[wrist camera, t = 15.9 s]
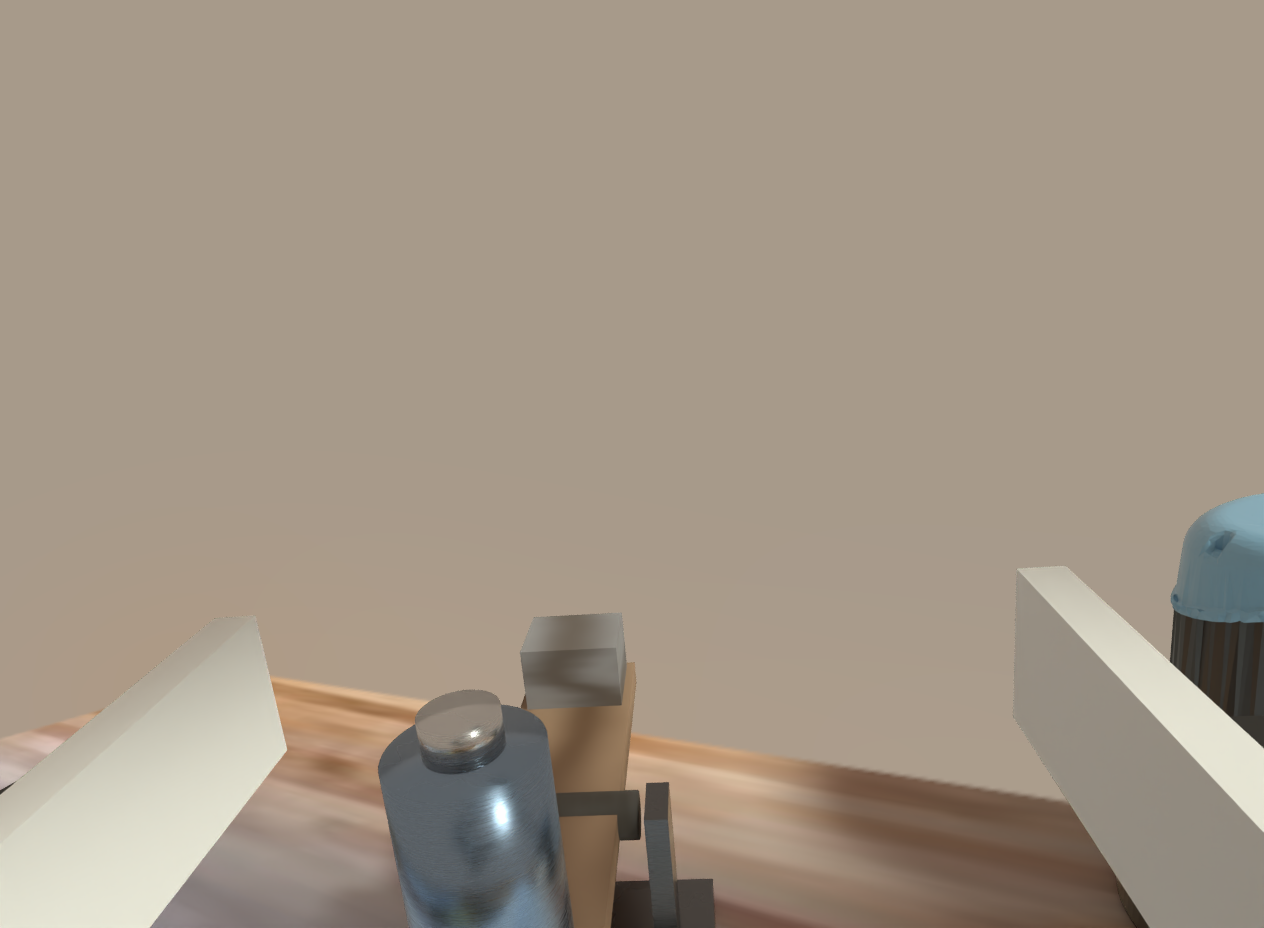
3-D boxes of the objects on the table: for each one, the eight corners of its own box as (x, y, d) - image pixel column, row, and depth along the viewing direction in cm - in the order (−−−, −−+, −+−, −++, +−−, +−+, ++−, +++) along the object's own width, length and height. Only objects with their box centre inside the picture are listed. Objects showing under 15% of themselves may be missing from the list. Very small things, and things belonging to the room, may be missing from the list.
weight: (588, 932, 36) (553, 664, 33) (573, 1065, 30) (527, 755, 27) (449, 939, 36) (401, 675, 33) (407, 1072, 30) (344, 767, 27)
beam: (651, 687, 59) (644, 608, 57) (620, 1123, 30) (604, 988, 28) (523, 692, 60) (513, 615, 58) (373, 1125, 31) (344, 993, 29)
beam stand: (713, 892, 50) (703, 748, 48) (719, 1029, 42) (707, 860, 39) (450, 900, 52) (427, 759, 49) (403, 1033, 43) (372, 870, 40)
